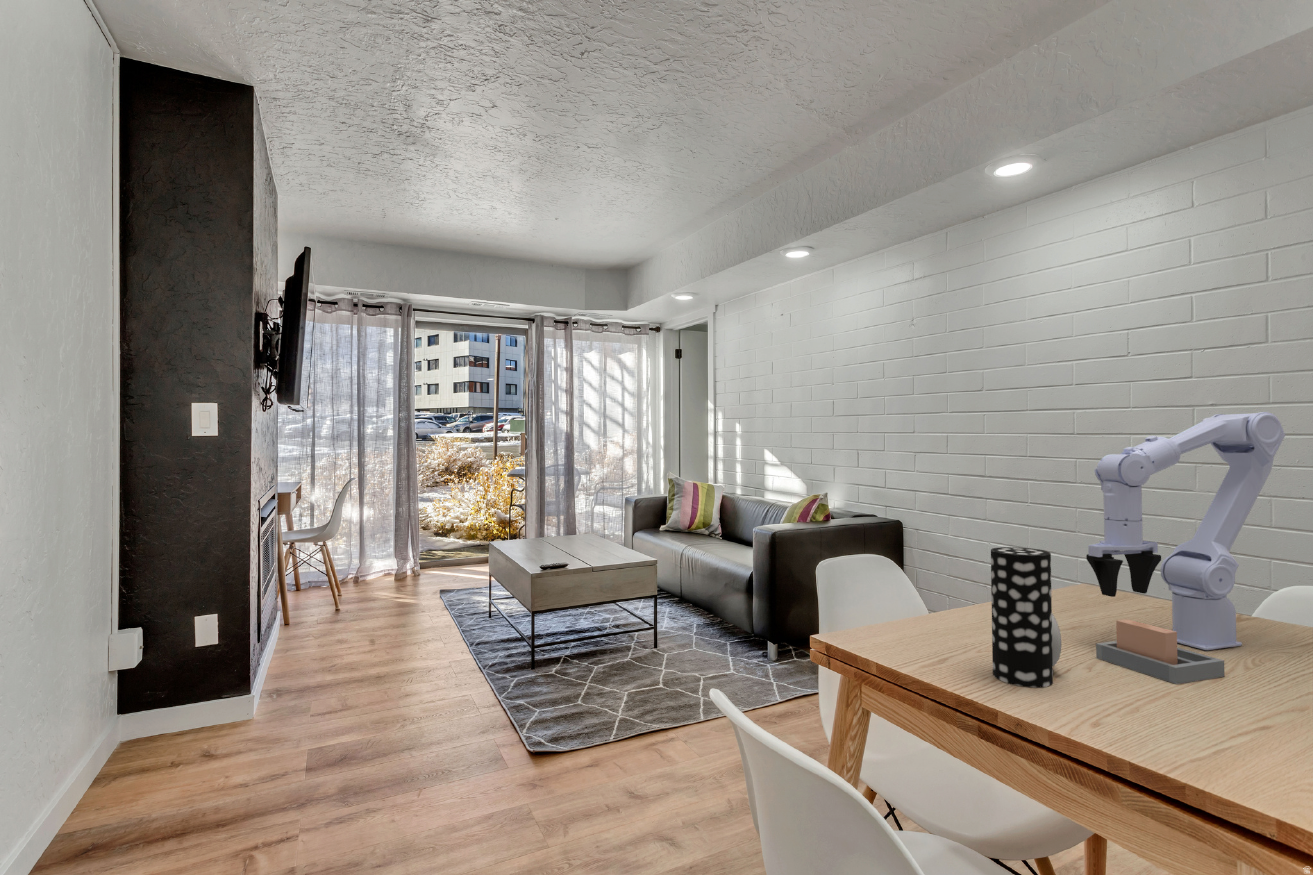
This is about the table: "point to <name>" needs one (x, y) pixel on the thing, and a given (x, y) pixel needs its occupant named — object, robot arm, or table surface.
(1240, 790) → the table surface
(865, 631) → the table surface
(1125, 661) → the dish rack
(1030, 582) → the spotted tube
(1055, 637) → the donut
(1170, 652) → the brick block
